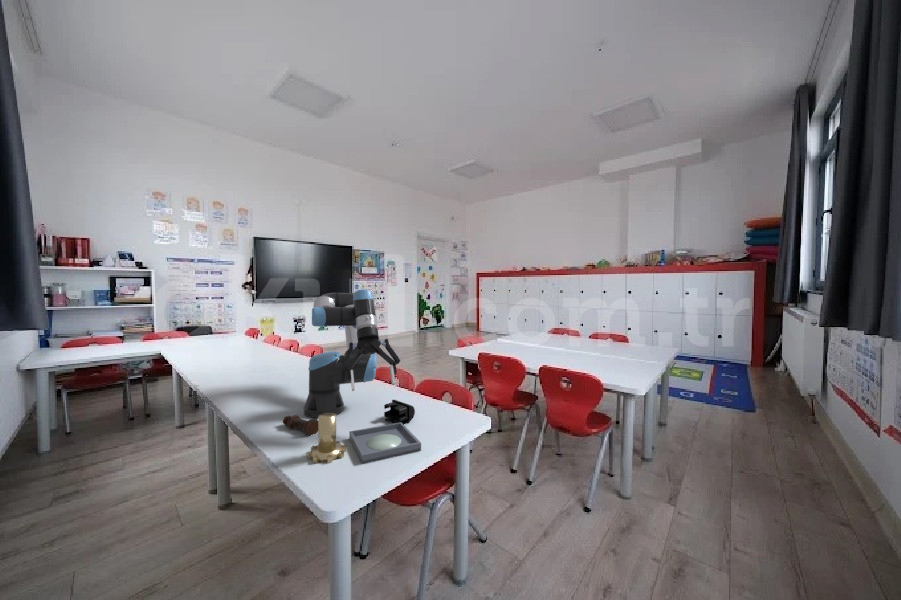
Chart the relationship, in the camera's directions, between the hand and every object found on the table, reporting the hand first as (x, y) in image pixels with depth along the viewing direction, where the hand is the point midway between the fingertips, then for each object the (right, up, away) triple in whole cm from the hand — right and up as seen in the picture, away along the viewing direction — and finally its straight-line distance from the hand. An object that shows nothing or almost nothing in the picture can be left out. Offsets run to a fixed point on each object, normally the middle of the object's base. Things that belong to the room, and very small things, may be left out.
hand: (374, 387), depth 114 cm
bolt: (-27, -16, +3) cm, 31 cm away
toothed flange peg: (-11, -16, -15) cm, 24 cm away
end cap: (+7, -16, +13) cm, 22 cm away
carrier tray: (+5, -16, -7) cm, 19 cm away
